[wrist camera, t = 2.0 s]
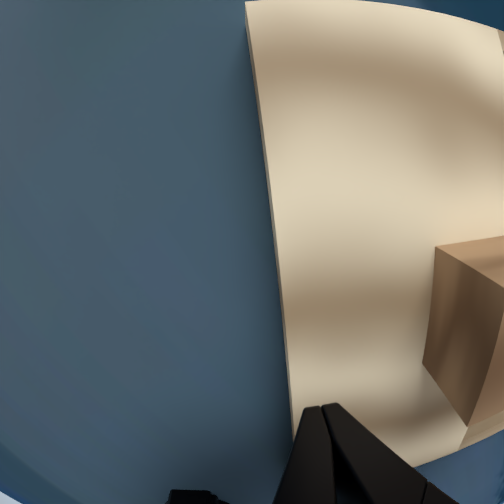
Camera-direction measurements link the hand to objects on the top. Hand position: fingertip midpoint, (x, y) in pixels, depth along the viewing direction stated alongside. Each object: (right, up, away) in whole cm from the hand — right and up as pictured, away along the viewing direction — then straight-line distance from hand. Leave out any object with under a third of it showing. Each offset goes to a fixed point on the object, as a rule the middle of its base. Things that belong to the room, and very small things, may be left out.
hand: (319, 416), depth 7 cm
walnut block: (+7, +2, +3) cm, 9 cm away
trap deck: (+12, +3, +5) cm, 14 cm away
